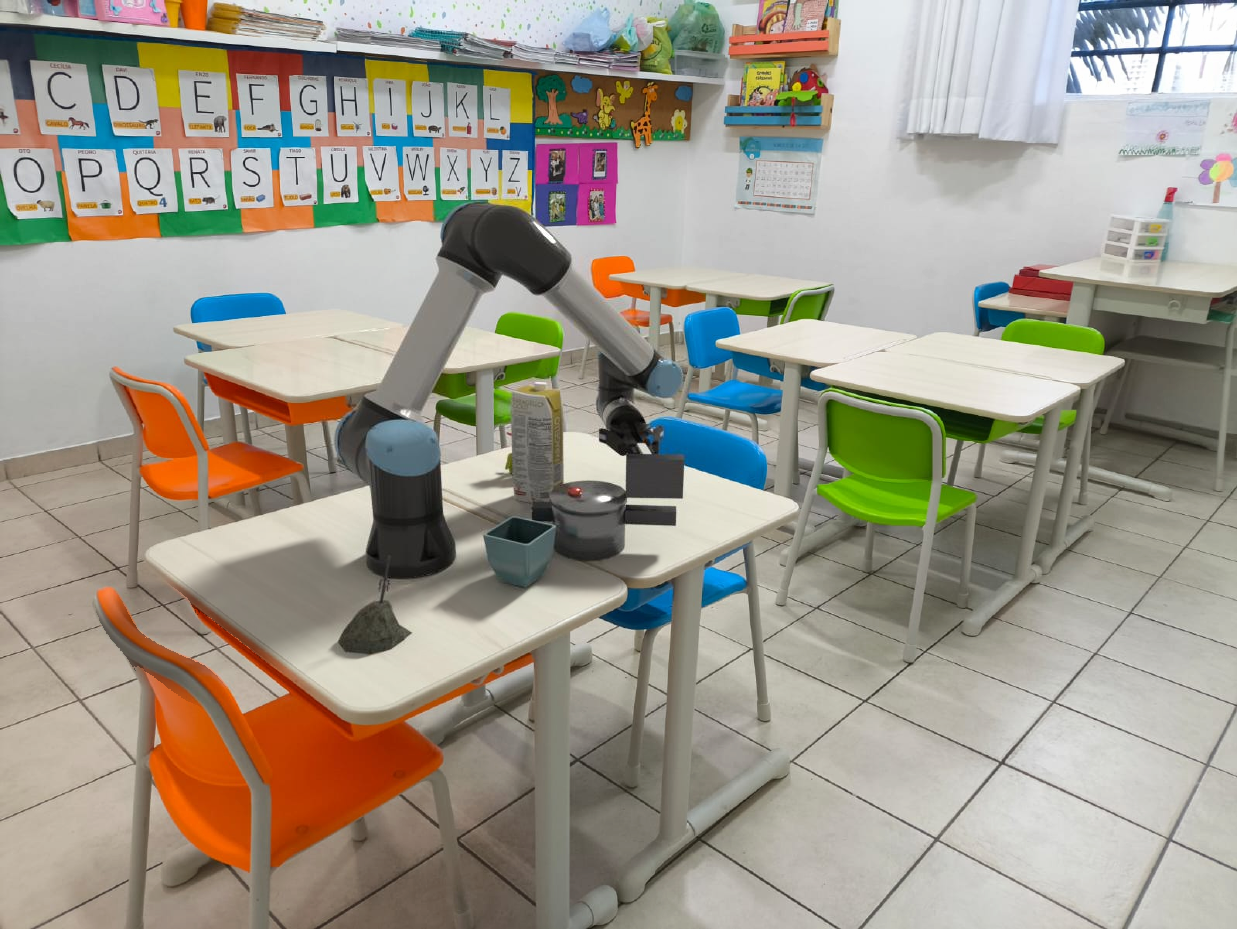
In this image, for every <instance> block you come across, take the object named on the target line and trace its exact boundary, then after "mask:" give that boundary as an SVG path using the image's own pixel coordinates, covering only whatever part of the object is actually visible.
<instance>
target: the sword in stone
mask: <svg viewBox="0 0 1237 929" xmlns="http://www.w3.org/2000/svg"><path fill="white" fill-rule="evenodd" d="M389 562H390V556H388V558H387V565H386V571H385V576H383V577H381V578H380V579H379V583H378V586H379V587H378V592H379V593H381V594H380V598H379V600H374V601H372V602H370V603H369V604H367V605H365V606H364V607H363V608H361V609H360V610H359V611H358V612H357V613H356V614H355V615H354V616H353V618H352V619H351V620H350V622H349V623H348V624H347V625H346V626H345V628H344V629H343V631H342V633H341V635H340V636H339V638H338V644H339V645H340V647H341V648H342V649H343V652H345V653H352V654H353V653H354V654H360V655H361V654H362V655H375V654H377V653H381V652H385V651H390V650H393V648H395V647H397V646H398V645H399V644H401V643H402V642H404V641H405V640H406V639H407V638H408V637H409V636H410V635H412V634H413V632H412V631H410V630H409V629H408V628H406V627H404V626H403V625H401V624H400V623H399V621H398V619H397V618H396V615H395V614H394V611H393V605H392V604H391V602H390V601H389V600H386V599H384V598H385V593H386V592H388V591H389V586H390V583H391V579H390V578H391V577H387V574H388V567H389ZM382 582H383V583H382ZM386 583H387V584H386ZM380 589H381V591H380Z"/></svg>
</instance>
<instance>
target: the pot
mask: <svg viewBox="0 0 1237 929" xmlns="http://www.w3.org/2000/svg"><path fill="white" fill-rule="evenodd" d="M531 520H534V521H538V522H543V523H547V522H548V523H551V524H552V525H555V526H556V530H555V539H554V548H553V552H555V553H556V554H558V555H559V556H561V557H563V558H566V559H570V560H574V561H580V562H581V561H582V562H590V561H591V562H596V561H603V559H604V560H607V559H611V558H613V556H614V557H616V556H618V555H619V554H620V553H622V552H623V550H625V547H626V545H625V544H626V525H633V526H634V525H635V526H639V525H640V526H663V527H664V526H665V527H666V526H667V527H669V526H670V527H671V526H672V527H676V526H677V506H676V505H656V504H655V505H651V504H649V505H648V504H625V506H623V507H622V508H620V509H618V510H616V511H613V512H609V513H605V514H597V515H580V514H572V513H568V512H564V511H561V510H559V509H557V508H555V507H554V506H553V505H552V504H551V502H533V504H531ZM610 557H611V558H610Z"/></svg>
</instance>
